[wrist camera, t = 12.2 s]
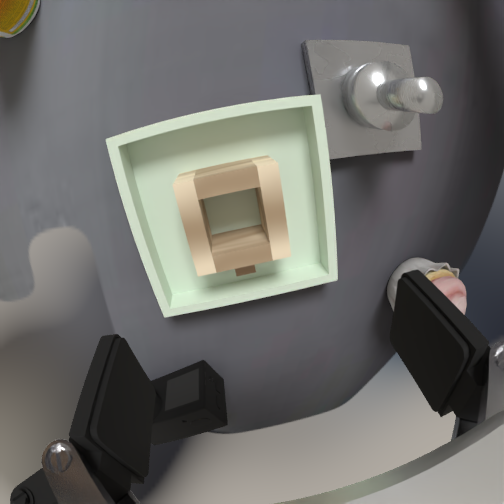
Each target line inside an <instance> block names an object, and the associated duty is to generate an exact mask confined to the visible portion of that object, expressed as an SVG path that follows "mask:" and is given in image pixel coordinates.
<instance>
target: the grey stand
mask: <svg viewBox="0 0 504 504" xmlns="http://www.w3.org/2000/svg"><path fill="white" fill-rule="evenodd" d="M301 45H302V50H303V55H304V60H305V65H306V71H307V76H308V82H309V88H310V93H311V95H319V94H321V100H322V107H323V114H324V121H325V128H326V135H327V143H328V152H329V159H336V158H344V157H352V156H360V155H369V154H378V153H388V152H398V151H410V150H421V133H420V120H419V113H428V114H434V113H437V112H438V111H439V110H440V109H441V106H442V103H443V95H442V91H441V88H440V86H439V85H438V83H437V82H436V81H435V80H433V79H432V78H430V77H417V78H415V77H414V71H413V65H412V59H411V54H410V49H409V46H407V45H399V44H391V43H381V42H369V41H351V40H305V41H304V42H303V43H301Z"/></svg>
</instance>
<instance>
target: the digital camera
mask: <svg viewBox="0 0 504 504" xmlns="http://www.w3.org/2000/svg"><path fill="white" fill-rule="evenodd" d="M212 378H213V379H212ZM209 379H210V380H209ZM211 381H213V382H211ZM151 383H152V384H153V386H154V388H155V392H156V397H155V406H154V414H153V424H152V434H151V443H152V444H153V445H157V444H162V443H167V442H171V441H175V440H179V439H183V438H186V437H190V436H194V435H197V434H201V433H204V432H207V431H211V430H214V429H217V428H220V427H223V426H226V425H227V413H226V403H225V392H224V381H223V378H221V377H220V376H219V375H218V374H217V373H216V372H215V371H214V370H213V369H212V368H211V367H210V366H209V364H208V363H207V362H206V361H204V360H202V361H200V362H197V363H195V364H193V365H190V366H188V367H185V368H183V369H180V370H178V371H176V372H173V373H171V374H168V375H165V376H163V377H160V378H158V379H155V380H153V381H151ZM205 384H206V385H205Z"/></svg>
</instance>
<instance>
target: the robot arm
mask: <svg viewBox="0 0 504 504" xmlns="http://www.w3.org/2000/svg"><path fill="white" fill-rule="evenodd" d="M390 341H391V343H392V345H393V347H394V348H395V350H396V351H397V353H398V354H399V356H400V358H401V359H402V361H403V362H404V364H405V365H406V367H407V369H408V370H409V372H410V373H411V375H412V376H413V378H414V380H415V382H416V383H417V385H418V386H419V388H420V390H421V391H422V393H423V395H424V396H425V398H426V400H427V401H428V403H429V405H430V406H431V408H432V409H433V410H434V411H435V412H437V411H438V413H439V414H440V416H441V417H442V416H444V415H446V414H448V413H450V412H451V411H454V413H455V415H456V420H455V425H454V430H453V434H452V439H451V441H450V442H448V443H447V444H445V445H443V446H441V447H439V448H437V449H435V450H434V451H431V452H430V453H428V454H426V455H424V456H422V457H419V458H417V459H415V460H413V461H411V462H409V463H407V464H404V465H402V466H400V467H397V468H395V469H393V470H390V471H388V472H385V473H383V474H380V475H378V476H375V477H373V478H370V479H367V480H364V481H361V482H358V483H355V484H352V485H349V486H346V487H343V488H340V489H336V490H333V491H329V492H325V493H322V494H318V495H314V496H310V497H306V498H301V499H296V500H292V501H287V502H281V503H276V504H504V341H503V342H498V343H496V344H495V345H493V346H492V348H490V347H489V346H488V344H489V341H488V340H487V339H486V338H485V337H484V336H483V335H482V334H481V332H480V331H479V330H478V329H477V328H476V327H475V326H474V325H473V324H472V323H471V322H470V320H469V319H468V318H467V317H466V316H465V315H464V314H463V313H462V312H461V311H460V310H459V309H458V308H457V307H456V306H455V305H454V304H453V303H452V302H451V301H450V300H449V299H448V298H447V297H446V296H445V295H444V294H443V293H442V292H441V291H440V290H439V289H438V288H437V287H436V286H435V285H434V284H433V283H432V282H431V281H430V280H429V279H428V278H427V277H426V276H425V275H424V274H423V273H422V272H421V271H419V270H417V269H416V270H412V271H409V272H406V273H403V274H402V275H401V278H400V279H399V280H398V282H397V291H396V299H395V306H394V313H393V319H392V326H391V332H390ZM155 397H156V392H155V388H154V386H153V384H152V383H151V381H150V380H149V378H148V377H147V375H146V373H145V372H144V370H143V369H142V367H141V365H140V364H139V362H138V360H137V359H136V357H135V355H134V354H133V352H132V350H131V348H130V347H129V345H128V343H127V341H126V340H125V339H124V338H121V337H120V336H119V335H118V334H114V335H107V336H102V337H101V339H100V341H99V344H98V346H97V349H96V352H95V354H94V357H93V360H92V363H91V366H90V369H89V371H88V374H87V377H86V380H85V383H84V386H83V389H82V392H81V395H80V399H79V402H78V405H77V408H76V411H75V415H74V419H73V422H72V425H71V429H70V433H69V436H70V438H69V441H68V440H64V439H57V440H54V441H53V442H51V443H49V444H48V445H47V447H46V448H45V449H44V451H43V454H42V461H41V463H42V467H43V468H42V469H40V470H39V471H37V472H36V473H35V474H33V475H32V476H30V477H29V478H28V479H26V480H25V481H23V482H22V483H21V484H19V485H18V486H17V487H16V488H14V490H13V492H12V493H11V498H10V504H141V503H140V502H139V501H138V500H137V499H136V497H135V496H134V495H133V493H132V492H131V491H130V486H131V483H142V484H144V477H146V476H147V475H148V470H149V456H150V444H151V434H152V424H153V414H154V406H155Z"/></svg>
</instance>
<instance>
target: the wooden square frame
mask: <svg viewBox="0 0 504 504" xmlns="http://www.w3.org/2000/svg"><path fill="white" fill-rule="evenodd" d="M251 188H255V191H256V197H257V202H258V208H259V213H260V219H261V224H260V225H255V226H250V227H245V228H241V229H236V230H231V231H227V232H222V233H218V234H213V235H212V233H211V229H210V225H209V221H208V217H207V213H206V209H205V204H204V200H203V199H205V198H209V197H213V196H218V195H223V194H227V193H232V192H237V191H242V190H246V189H251ZM173 189H174V193H175V197H176V201H177V204H178V208H179V212H180V216H181V219H182V223H183V227H184V230H185V234H186V237H187V241H188V244H189V248H190V251H191V255H192V258H193V261H194V265H195V268H196V271H197V275H198V277H199V276H204V275H208V274H213V273H218V272H223V271H227V270H232V269H235V272H236V276H241V275H246V274H251V273H255V272H256V269H255V264H260V263H264V262H269V261H273V260H278V259H283V258H287V257H291V250H290V242H289V235H288V227H287V220H286V213H285V206H284V199H283V192H282V186H281V179H280V172H279V166H278V162H276V161H275V160H274V159H272V158H271V157H269V156H268V155H265V156H260V157H254V158H249V159H244V160H239V161H234V162H229V163H224V164H219V165H215V166H210V167H206V168H201V169H197V170H193V171H188V172H184V173H180V174H179V175H178V176H177V178H176V180H175V181H174V183H173Z"/></svg>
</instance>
